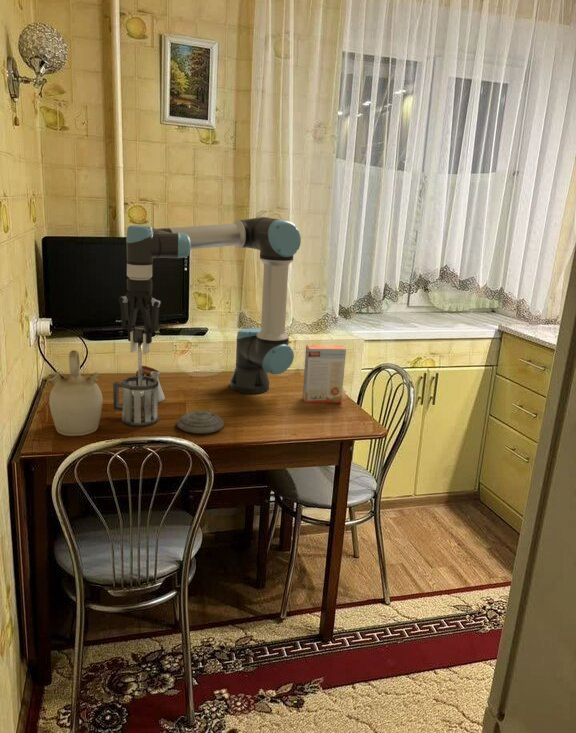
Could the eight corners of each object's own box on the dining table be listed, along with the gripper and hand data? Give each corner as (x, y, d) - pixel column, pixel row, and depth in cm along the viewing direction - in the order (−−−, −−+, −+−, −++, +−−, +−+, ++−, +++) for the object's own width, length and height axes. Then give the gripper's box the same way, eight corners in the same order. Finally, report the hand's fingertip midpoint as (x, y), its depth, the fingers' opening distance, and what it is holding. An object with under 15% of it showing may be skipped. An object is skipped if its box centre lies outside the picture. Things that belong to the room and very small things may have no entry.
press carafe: (164, 416, 200) (164, 378, 197) (148, 428, 190) (148, 389, 186) (123, 409, 204) (123, 372, 200) (105, 421, 193) (105, 382, 189)
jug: (41, 436, 179) (37, 355, 172) (63, 417, 194) (59, 342, 186) (92, 441, 178) (90, 360, 171) (110, 421, 193) (108, 346, 186)
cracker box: (337, 397, 230) (343, 344, 224) (341, 403, 224) (347, 349, 218) (301, 397, 227) (305, 343, 221) (304, 403, 222) (309, 348, 216)
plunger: (157, 390, 197) (158, 327, 191) (146, 398, 189) (146, 333, 183) (134, 386, 198) (133, 324, 192) (121, 394, 191) (120, 330, 184)
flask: (149, 395, 219) (149, 368, 216) (168, 397, 218) (168, 371, 215) (140, 401, 212) (140, 374, 209) (160, 404, 211) (160, 377, 208)
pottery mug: (127, 383, 230) (135, 363, 232) (150, 392, 235) (157, 372, 237) (138, 385, 220) (146, 364, 222) (161, 394, 225) (169, 373, 227)
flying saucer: (174, 419, 199) (174, 404, 197) (219, 418, 203) (219, 402, 201) (179, 438, 185) (179, 421, 183) (227, 435, 189) (228, 419, 188)
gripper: (170, 279, 185) (169, 352, 191) (120, 273, 188) (121, 346, 195) (159, 282, 178) (159, 358, 184) (108, 276, 181) (109, 351, 188)
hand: (139, 352), depth 190 cm, fingers closed on plunger, 4 cm apart
